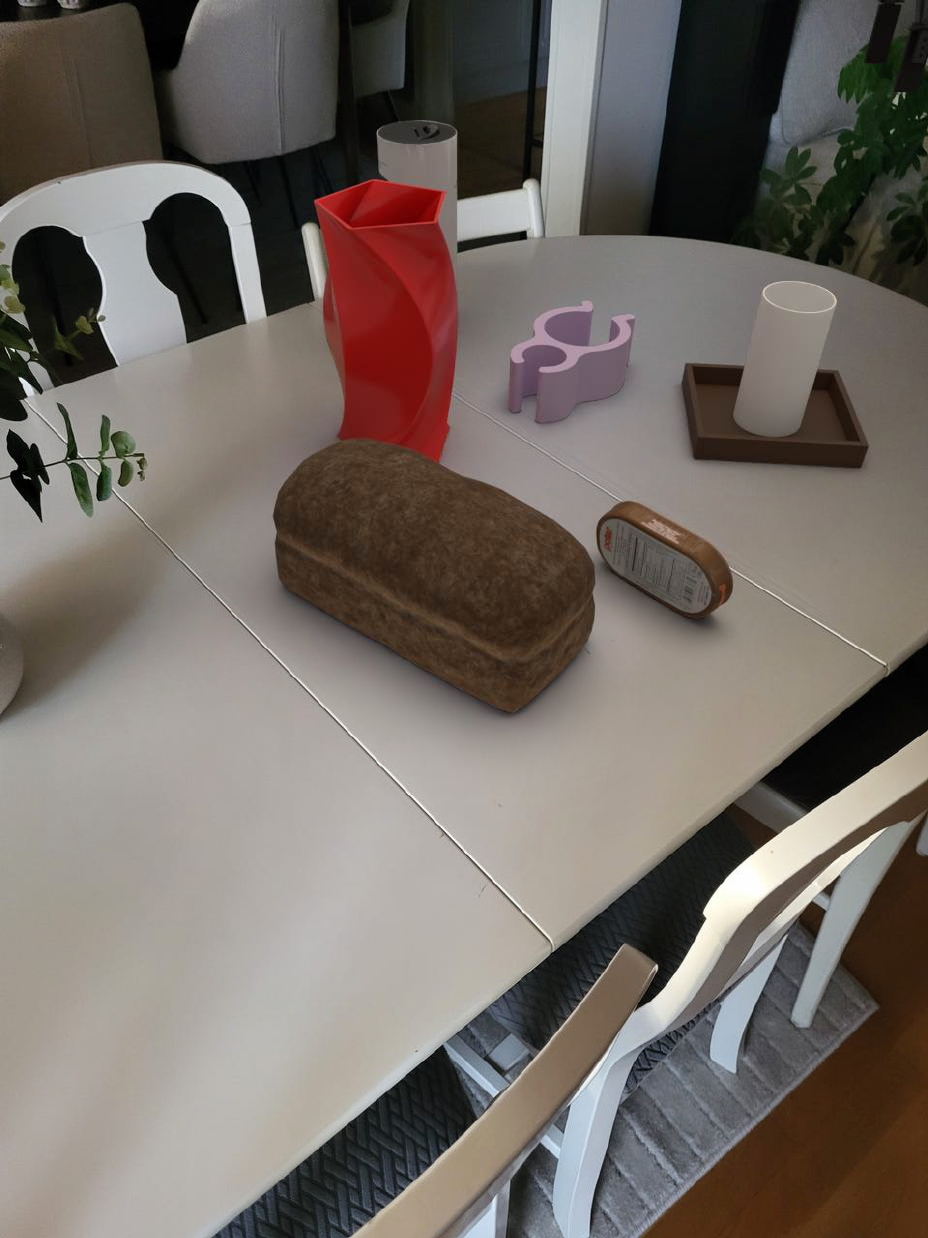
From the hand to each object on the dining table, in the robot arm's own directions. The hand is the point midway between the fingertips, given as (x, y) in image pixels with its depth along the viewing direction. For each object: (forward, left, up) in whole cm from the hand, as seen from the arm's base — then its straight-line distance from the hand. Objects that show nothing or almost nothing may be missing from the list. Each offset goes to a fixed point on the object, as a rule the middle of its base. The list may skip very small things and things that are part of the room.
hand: (889, 76), depth 119 cm
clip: (+38, +26, -31) cm, 56 cm away
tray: (+13, +33, -31) cm, 47 cm away
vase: (+59, +42, -31) cm, 79 cm away
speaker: (+59, +10, -31) cm, 68 cm away
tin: (+29, +66, -31) cm, 79 cm away
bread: (+51, +71, -31) cm, 93 cm away
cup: (+13, +33, -31) cm, 47 cm away
